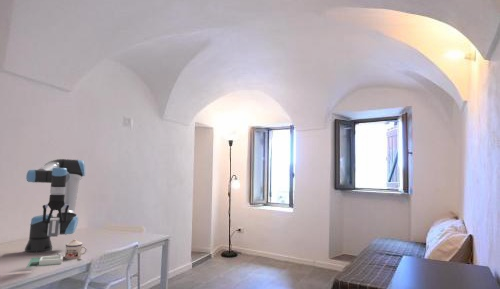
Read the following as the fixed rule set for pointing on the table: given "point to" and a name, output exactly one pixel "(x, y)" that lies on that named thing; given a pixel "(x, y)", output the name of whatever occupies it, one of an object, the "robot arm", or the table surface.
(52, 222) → the plug
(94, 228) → the table surface
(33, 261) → the board
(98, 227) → the table surface
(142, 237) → the table surface
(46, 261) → the header
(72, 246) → the teacup with lid
